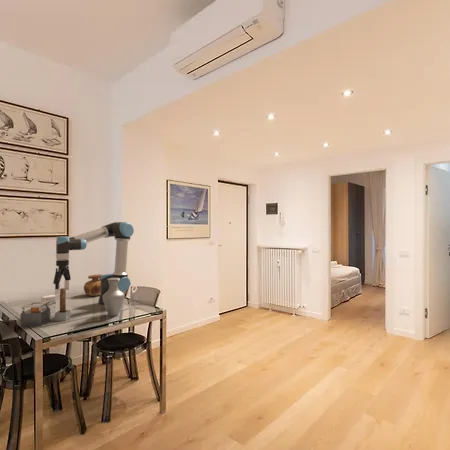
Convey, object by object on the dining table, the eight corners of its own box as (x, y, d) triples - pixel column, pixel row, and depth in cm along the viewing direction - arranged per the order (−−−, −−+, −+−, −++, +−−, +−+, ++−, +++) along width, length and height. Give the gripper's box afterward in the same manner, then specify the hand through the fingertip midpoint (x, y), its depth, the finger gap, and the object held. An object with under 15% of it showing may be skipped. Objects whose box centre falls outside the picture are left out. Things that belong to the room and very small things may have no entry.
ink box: (44, 314, 219) (44, 297, 219) (40, 313, 221) (40, 296, 221) (56, 311, 226) (56, 295, 226) (52, 310, 229) (52, 294, 229)
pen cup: (70, 317, 212) (70, 309, 212) (65, 320, 205) (65, 312, 205) (59, 317, 211) (59, 310, 211) (54, 320, 204) (54, 313, 204)
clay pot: (94, 295, 267) (88, 272, 271) (82, 301, 276) (76, 279, 281) (113, 291, 283) (107, 269, 287) (101, 296, 292) (95, 276, 297)
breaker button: (40, 313, 201) (40, 305, 201) (37, 315, 197) (37, 307, 197) (34, 313, 201) (34, 305, 201) (30, 315, 197) (30, 307, 197)
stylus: (66, 318, 210) (66, 288, 210) (64, 319, 206) (64, 289, 206) (61, 318, 209) (61, 288, 210) (58, 319, 206) (58, 289, 206)
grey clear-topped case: (50, 320, 205) (50, 301, 205) (40, 326, 193) (40, 305, 193) (31, 320, 204) (31, 301, 205) (20, 326, 193) (20, 306, 193)
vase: (97, 316, 213) (97, 279, 213) (112, 311, 226) (112, 276, 227) (115, 318, 208) (114, 280, 208) (129, 313, 221) (128, 277, 221)
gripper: (64, 258, 220) (64, 288, 220) (47, 261, 195) (47, 295, 195) (75, 258, 221) (75, 288, 220) (59, 261, 196) (59, 295, 196)
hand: (62, 292), depth 208 cm, fingers open, 13 cm apart
